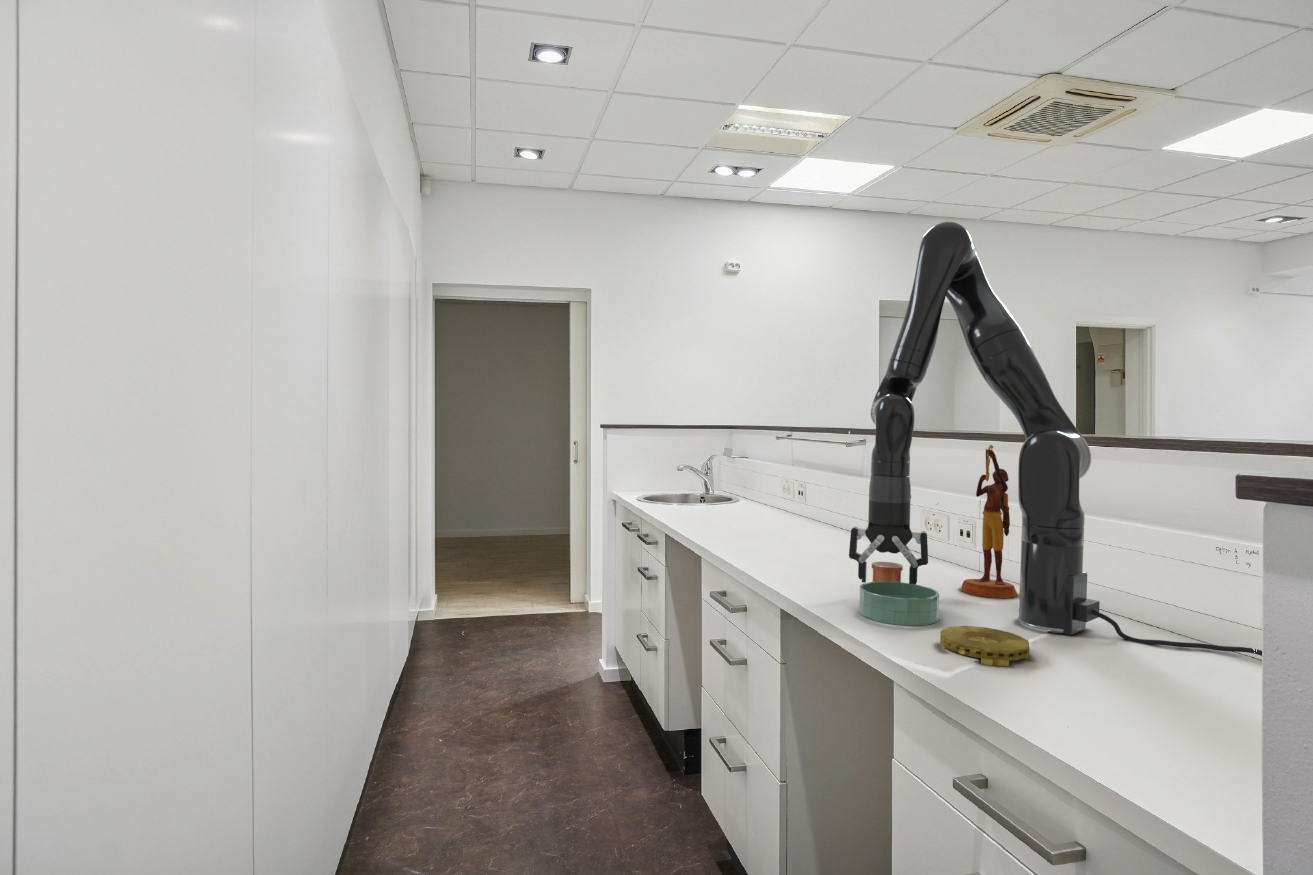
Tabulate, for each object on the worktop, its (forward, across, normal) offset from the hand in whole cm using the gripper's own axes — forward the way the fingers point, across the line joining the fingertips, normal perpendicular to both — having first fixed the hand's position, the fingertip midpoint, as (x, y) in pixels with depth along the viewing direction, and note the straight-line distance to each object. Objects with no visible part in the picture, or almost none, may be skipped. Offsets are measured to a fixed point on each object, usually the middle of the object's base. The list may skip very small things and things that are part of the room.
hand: (887, 584), depth 136 cm
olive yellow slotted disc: (+4, +15, -26) cm, 30 cm away
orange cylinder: (+3, 0, 0) cm, 3 cm away
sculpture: (+3, +19, +17) cm, 26 cm away
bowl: (+3, +2, -12) cm, 12 cm away
